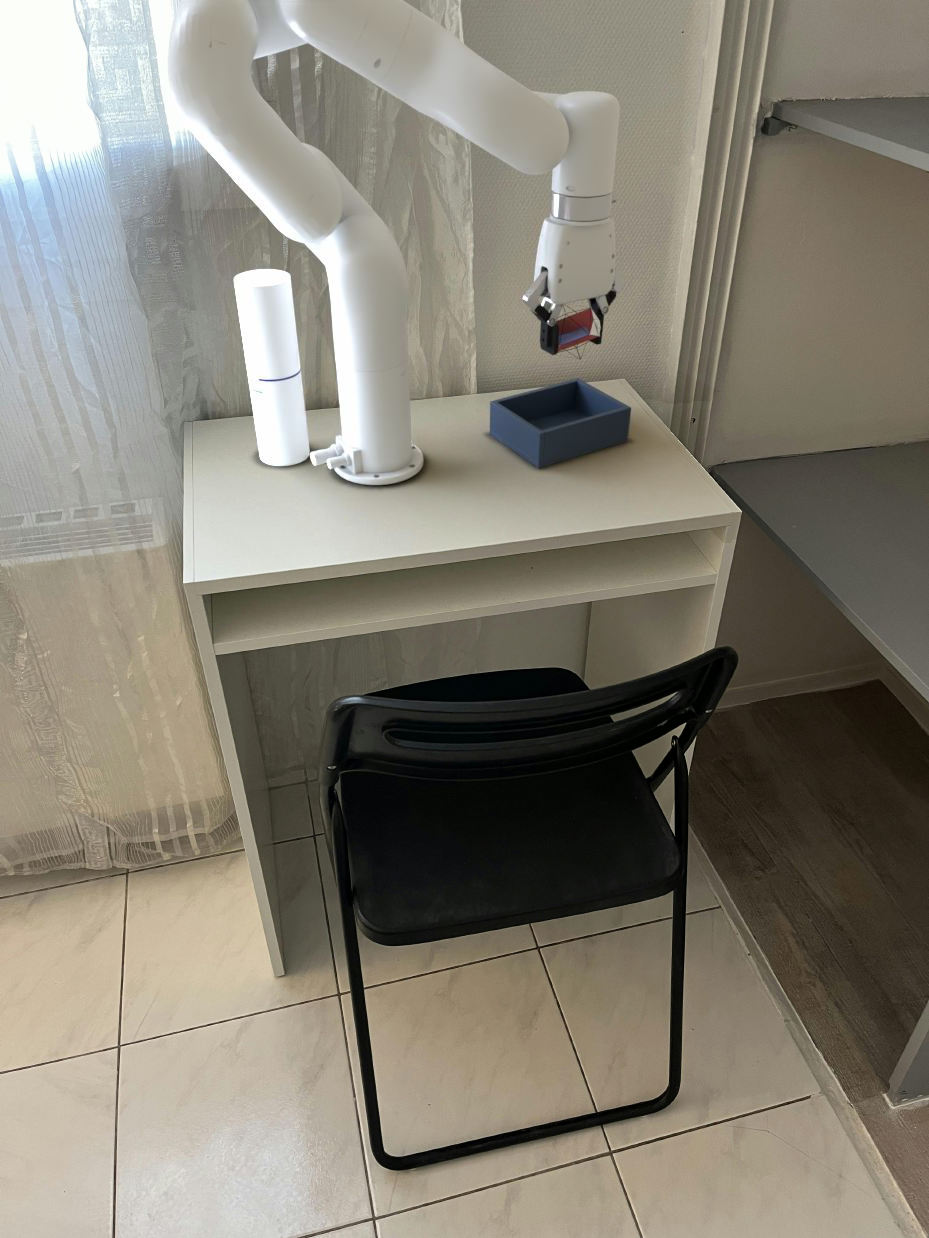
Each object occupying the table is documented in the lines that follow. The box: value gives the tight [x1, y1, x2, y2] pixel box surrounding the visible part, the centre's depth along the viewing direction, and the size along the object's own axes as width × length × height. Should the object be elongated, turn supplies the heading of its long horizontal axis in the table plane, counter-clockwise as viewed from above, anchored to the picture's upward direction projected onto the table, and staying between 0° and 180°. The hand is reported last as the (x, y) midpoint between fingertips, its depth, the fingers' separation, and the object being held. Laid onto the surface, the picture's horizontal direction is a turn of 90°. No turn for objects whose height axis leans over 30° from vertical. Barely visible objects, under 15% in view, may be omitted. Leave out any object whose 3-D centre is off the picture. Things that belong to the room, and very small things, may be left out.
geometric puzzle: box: [555, 303, 601, 361], centre depth 125 cm, size 7×7×8 cm
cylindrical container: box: [233, 268, 311, 467], centre depth 127 cm, size 7×7×25 cm
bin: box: [489, 378, 632, 469], centre depth 137 cm, size 16×13×5 cm
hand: (570, 345), depth 127 cm, fingers closed on geometric puzzle, 6 cm apart
